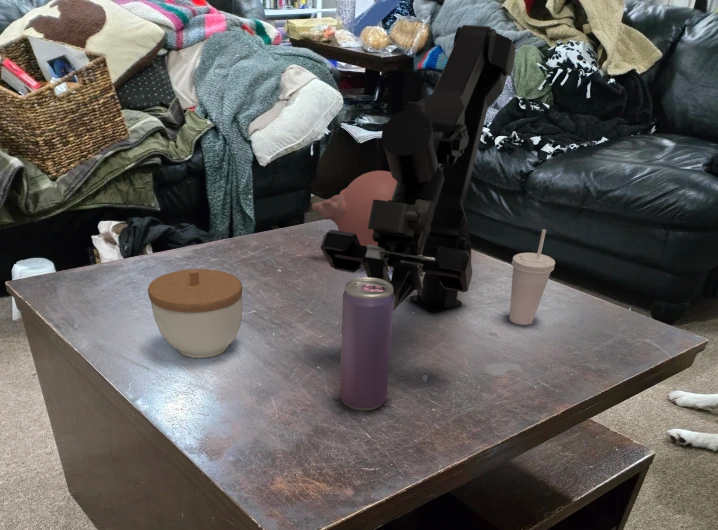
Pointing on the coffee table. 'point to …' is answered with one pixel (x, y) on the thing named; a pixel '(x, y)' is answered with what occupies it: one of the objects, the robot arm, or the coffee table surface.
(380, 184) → the balloon
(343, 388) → the beverage can
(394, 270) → the robot arm
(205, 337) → the lidded bowl
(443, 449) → the coffee table surface
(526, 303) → the smoothie
